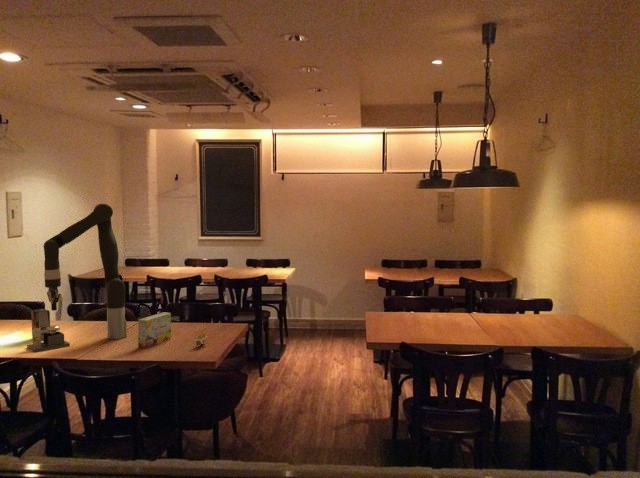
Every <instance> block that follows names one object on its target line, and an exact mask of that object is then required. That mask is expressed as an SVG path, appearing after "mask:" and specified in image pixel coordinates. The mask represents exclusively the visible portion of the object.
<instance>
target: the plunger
mask: <svg viewBox="0 0 640 478" xmlns="http://www.w3.org/2000/svg"><path fill="white" fill-rule="evenodd" d="M57 331H59V332H60V325H50V326H48V327H47V330H42V331H35V333H41V332H50V333H51V335H54V334H56V332H57Z"/></svg>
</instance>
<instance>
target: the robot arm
mask: <svg viewBox="0 0 640 478" xmlns="http://www.w3.org/2000/svg"><path fill="white" fill-rule="evenodd" d="M113 214H114V210H113V208H112V206H111V205H110V204H106V203H98V204H97V205H95V207H94V208H93V211H92V212H90V213H89V214H88V215H87V216H86V217H84V218H82V219H80V220H78V221H77V222H75V223H73V224H71V225H69V226H68V227H66V228H65V229H63V230H62V231H60V232H59V233H58V234H56V235H54V236H53V237H51V238H49V239H47V240H46V241H45V242H44V244H43V251H44V252H43V253H44V254H43V255H44V263H43V264H44V274H43V275H44V287H45V288H48V290H47V291H46V294H47V298H48V301H49V303H50V308H51V310H50V311H53V312H54V311H57V309H58V306H57V304H58V303H59V301H60V298H61V294H60V293H59V289H58V288H59V287H61V285H62V280H61V279H62V277H61V269H60V249H61V248H62V247H64V246H65V245H68V244H69V243H71V242H73V241H74V240H75V239H77V238H79V237H80V236H81V235H83V234H85V233H86V232H87V231H88V230H90V229H91V228H93V227H95V226H97V233H98V234H97V236H98V238H97V239H98V244H99V245H98V246H99V253H100V257H101V263H102V268H103V271H104V288H105V291H106V292H107V302H106V321H107V322H106V323H107V326H106V327H107V328H106V329H107V333H106V334H107V335H106V336H107V339H108V340H120V339H125V338H127V337H128V335H127V331H128V330H127V319H126V317H125V315H126V314H125V313H126V312H125V308H126V307H125V303H126V285H125V282H124V281H123V280H121V277H120V275H119V274H120V273H119V250H118V249H119V247H118V242H117V240H116V239H117V238H116V236H115V233H114V230H113V228H112V227H113V226H112V225H113V224H112V217H113Z"/></svg>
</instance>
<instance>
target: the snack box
mask: <svg viewBox="0 0 640 478" xmlns="http://www.w3.org/2000/svg"><path fill="white" fill-rule="evenodd" d="M137 321H138V322H137V326H138V327H137V328H138V329H137V330H138V332H137V333H138V334H137V335H138V336H137V337H138V339H137V343H138V344H137V345H138V346H137V347H138V348H139V349H148V348H151V347H153V346H156V345H158V343H159V344H161V343H164V342H166V341H165V340H167V341H169V340H171V339H172V312H167V311H166V312H164V311H163V312H159V313H156V314H153V315H150V316H147V317H143V318H139V319H138V320H137ZM170 338H171V339H170ZM168 339H169V340H168ZM163 341H164V342H163Z"/></svg>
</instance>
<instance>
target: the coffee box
mask: <svg viewBox="0 0 640 478" xmlns="http://www.w3.org/2000/svg"><path fill="white" fill-rule="evenodd" d="M30 311H31V312H30V313H31V314H30V315H31V333H32V334H31V337H32V340H33V329H34V328H41V331H42V330H47V327H48V326H51V317H50V316H51V314H50V313H51V310H49V309H45V308H38V309H33V310H30ZM45 333H51V332H41V342H43V334H45Z"/></svg>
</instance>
